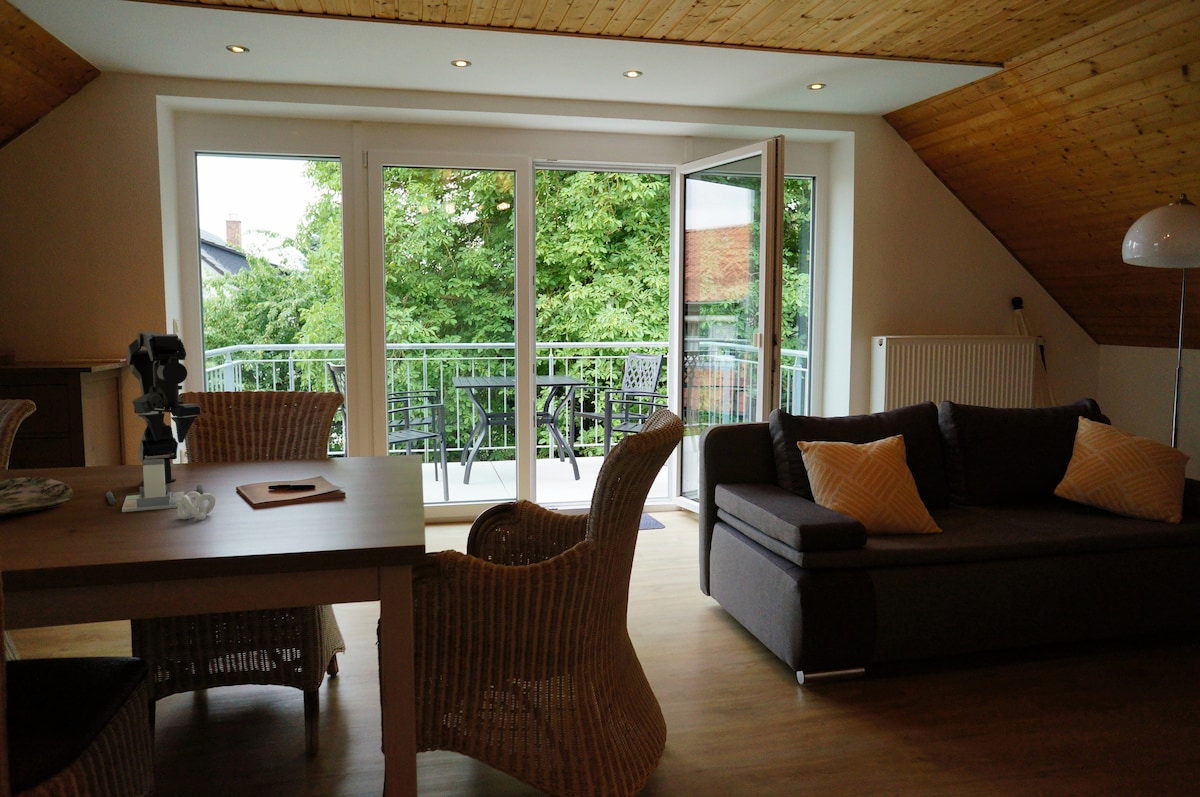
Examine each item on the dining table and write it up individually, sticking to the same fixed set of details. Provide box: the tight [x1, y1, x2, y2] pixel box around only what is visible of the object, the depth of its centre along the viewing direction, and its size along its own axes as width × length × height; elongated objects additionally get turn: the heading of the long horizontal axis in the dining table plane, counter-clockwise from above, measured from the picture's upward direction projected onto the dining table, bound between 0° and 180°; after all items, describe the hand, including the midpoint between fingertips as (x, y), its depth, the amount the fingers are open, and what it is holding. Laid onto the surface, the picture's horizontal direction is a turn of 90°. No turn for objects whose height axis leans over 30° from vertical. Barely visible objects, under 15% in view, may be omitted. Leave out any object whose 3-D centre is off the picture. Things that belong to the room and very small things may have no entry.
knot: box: [176, 490, 216, 521], centre depth 192 cm, size 8×8×6 cm
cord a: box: [196, 484, 204, 495], centre depth 218 cm, size 12×1×1 cm, turn 26°
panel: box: [121, 484, 185, 513], centre depth 207 cm, size 16×13×3 cm
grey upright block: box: [142, 459, 166, 498], centre depth 210 cm, size 4×4×9 cm
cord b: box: [105, 491, 117, 506], centre depth 209 cm, size 12×1×1 cm, turn 34°
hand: (168, 441), depth 221 cm, fingers open, 9 cm apart
